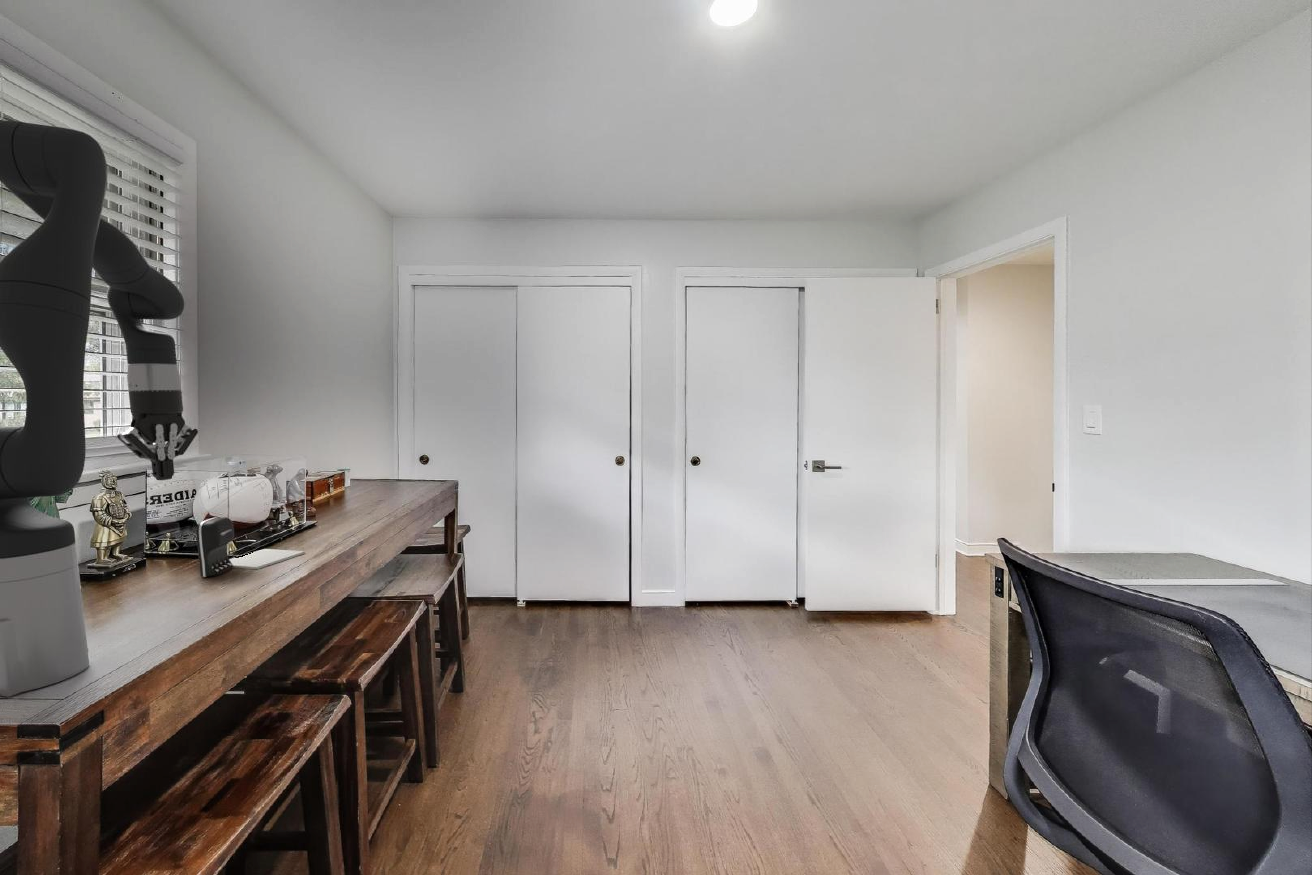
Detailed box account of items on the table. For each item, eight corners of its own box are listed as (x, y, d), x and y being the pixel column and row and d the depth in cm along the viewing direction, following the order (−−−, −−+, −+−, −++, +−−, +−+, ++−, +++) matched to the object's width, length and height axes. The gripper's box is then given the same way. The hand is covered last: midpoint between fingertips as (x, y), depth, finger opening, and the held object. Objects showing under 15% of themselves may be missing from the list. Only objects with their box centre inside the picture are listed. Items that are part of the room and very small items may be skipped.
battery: (219, 577, 116) (214, 522, 115) (199, 578, 115) (194, 523, 114) (239, 566, 123) (235, 514, 122) (220, 568, 122) (215, 515, 121)
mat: (256, 569, 120) (256, 567, 120) (213, 566, 124) (213, 563, 123) (305, 553, 132) (304, 551, 132) (264, 550, 135) (264, 548, 135)
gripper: (129, 388, 100) (139, 486, 101) (206, 388, 112) (214, 474, 114) (99, 389, 102) (109, 485, 103) (178, 388, 114) (186, 474, 116)
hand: (164, 479), depth 109 cm, fingers closed
